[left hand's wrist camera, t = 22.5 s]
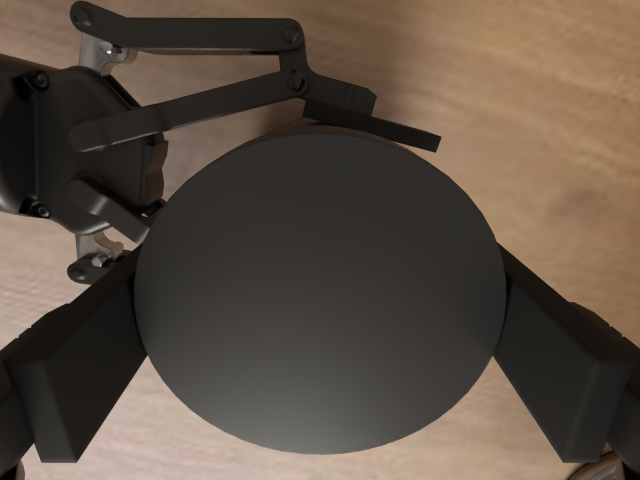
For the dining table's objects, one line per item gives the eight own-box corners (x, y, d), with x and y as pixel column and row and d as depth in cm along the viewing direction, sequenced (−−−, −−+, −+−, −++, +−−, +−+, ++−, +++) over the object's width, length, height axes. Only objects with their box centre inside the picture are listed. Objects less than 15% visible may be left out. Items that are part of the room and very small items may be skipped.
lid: (209, 64, 10) (185, 57, 8) (543, 204, 11) (586, 226, 9) (132, 361, 13) (103, 402, 11) (393, 439, 15) (403, 487, 13)
